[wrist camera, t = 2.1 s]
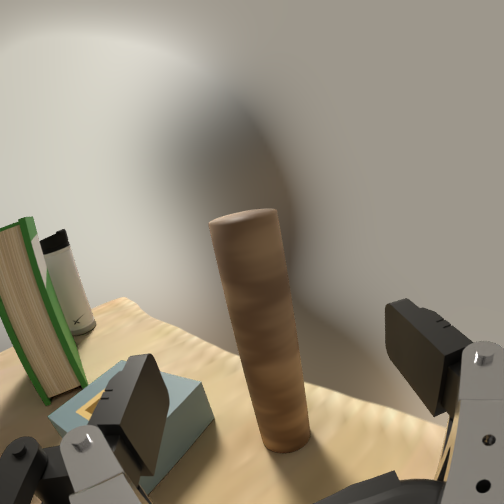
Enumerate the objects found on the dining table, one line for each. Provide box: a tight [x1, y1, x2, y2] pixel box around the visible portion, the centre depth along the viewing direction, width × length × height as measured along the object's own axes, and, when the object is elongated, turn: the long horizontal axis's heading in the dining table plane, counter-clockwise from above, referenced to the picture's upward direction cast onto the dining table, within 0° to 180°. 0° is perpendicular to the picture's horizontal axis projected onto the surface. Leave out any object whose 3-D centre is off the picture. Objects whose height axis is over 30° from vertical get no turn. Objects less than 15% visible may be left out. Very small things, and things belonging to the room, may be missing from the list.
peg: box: [209, 209, 310, 453], centre depth 23 cm, size 4×4×20 cm
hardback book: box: [0, 217, 88, 406], centre depth 38 cm, size 18×7×24 cm, turn 37°
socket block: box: [47, 360, 215, 495], centre depth 27 cm, size 12×12×5 cm
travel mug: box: [39, 229, 96, 335], centre depth 54 cm, size 6×7×20 cm
